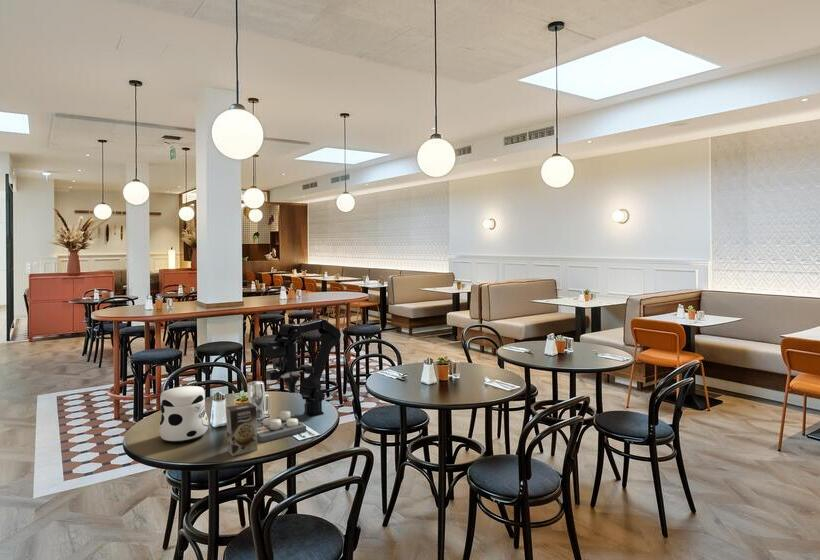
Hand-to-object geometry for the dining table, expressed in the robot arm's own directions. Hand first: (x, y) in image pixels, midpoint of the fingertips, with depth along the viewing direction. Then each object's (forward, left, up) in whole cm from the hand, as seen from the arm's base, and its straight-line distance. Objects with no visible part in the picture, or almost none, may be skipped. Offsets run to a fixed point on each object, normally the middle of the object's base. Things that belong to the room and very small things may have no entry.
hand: (290, 392), depth 211 cm
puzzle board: (+9, +5, -12) cm, 16 cm away
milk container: (+39, -11, -13) cm, 42 cm away
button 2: (+10, +9, -10) cm, 17 cm away
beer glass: (+9, -15, -13) cm, 22 cm away
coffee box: (+26, +16, -13) cm, 33 cm away
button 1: (+11, +2, -12) cm, 16 cm away
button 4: (+4, +8, -12) cm, 15 cm away
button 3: (+3, +2, -10) cm, 11 cm away
